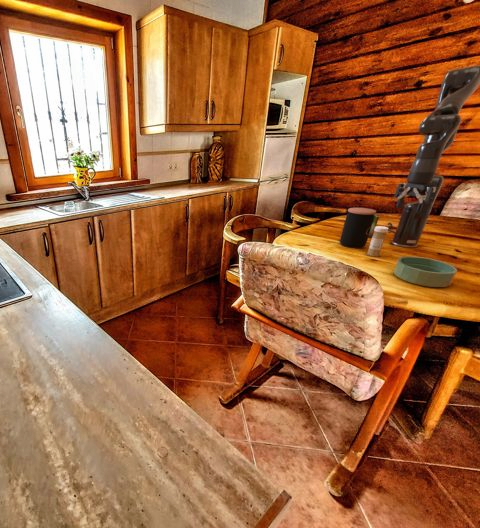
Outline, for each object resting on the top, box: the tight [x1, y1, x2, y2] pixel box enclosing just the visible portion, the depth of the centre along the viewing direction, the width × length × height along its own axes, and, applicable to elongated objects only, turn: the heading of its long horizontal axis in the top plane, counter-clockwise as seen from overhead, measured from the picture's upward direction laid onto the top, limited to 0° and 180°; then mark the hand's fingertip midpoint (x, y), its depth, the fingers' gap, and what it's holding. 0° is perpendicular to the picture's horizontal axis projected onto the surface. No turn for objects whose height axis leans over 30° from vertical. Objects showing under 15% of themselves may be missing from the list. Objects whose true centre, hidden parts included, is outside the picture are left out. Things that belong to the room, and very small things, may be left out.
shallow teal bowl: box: [392, 256, 458, 288], centre depth 105 cm, size 16×16×6 cm
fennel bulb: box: [368, 214, 380, 238], centre depth 148 cm, size 6×5×12 cm
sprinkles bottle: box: [366, 225, 389, 257], centre depth 125 cm, size 5×5×14 cm
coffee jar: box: [339, 207, 377, 249], centre depth 137 cm, size 11×11×18 cm
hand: (408, 210), depth 118 cm, fingers open, 8 cm apart
